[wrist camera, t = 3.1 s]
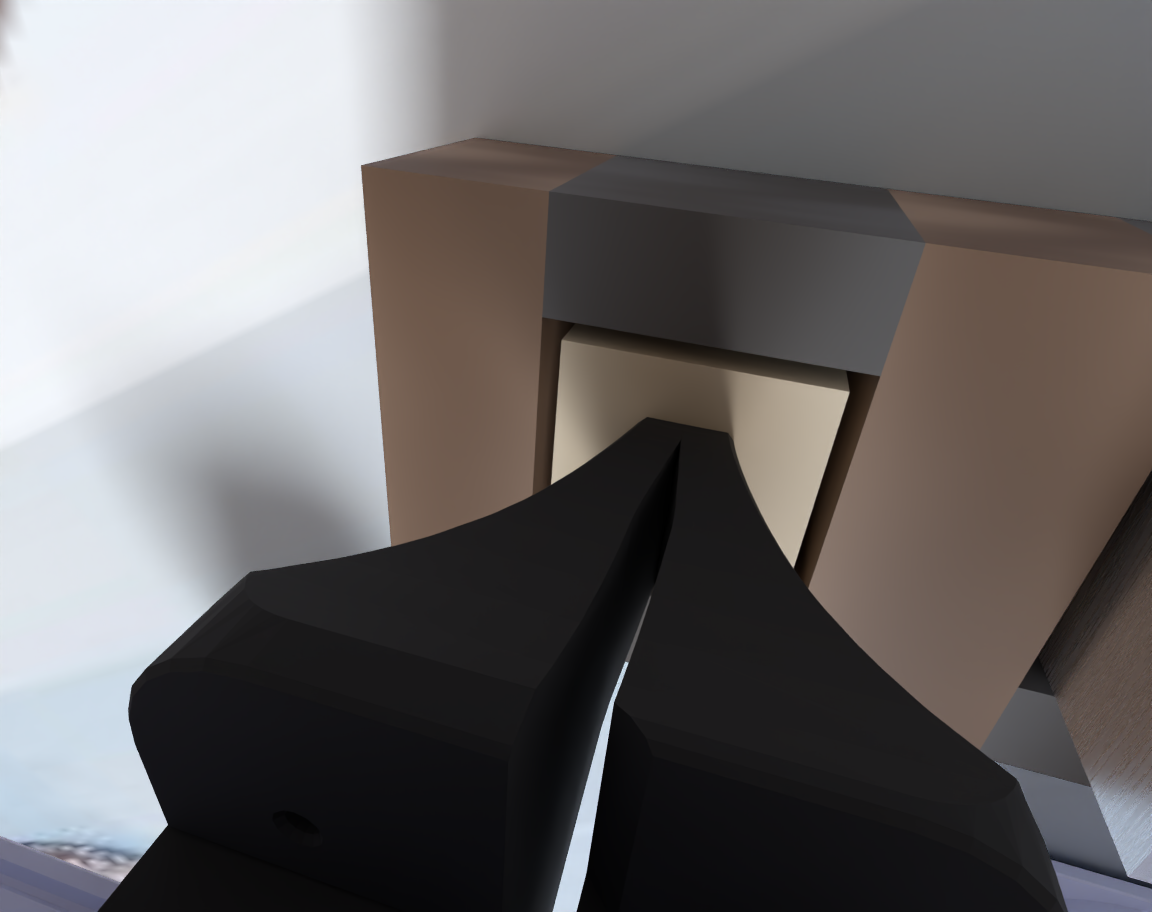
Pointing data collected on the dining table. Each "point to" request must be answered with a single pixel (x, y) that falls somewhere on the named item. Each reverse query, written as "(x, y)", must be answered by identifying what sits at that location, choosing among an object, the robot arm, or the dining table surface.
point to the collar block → (809, 335)
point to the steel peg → (1113, 681)
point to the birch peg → (705, 412)
